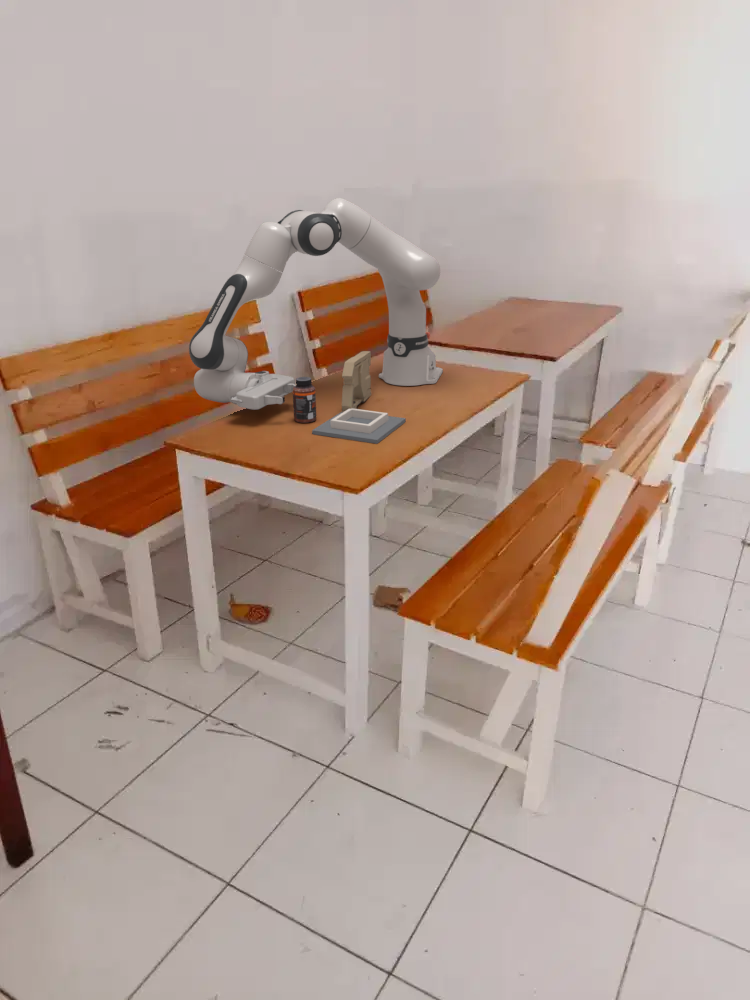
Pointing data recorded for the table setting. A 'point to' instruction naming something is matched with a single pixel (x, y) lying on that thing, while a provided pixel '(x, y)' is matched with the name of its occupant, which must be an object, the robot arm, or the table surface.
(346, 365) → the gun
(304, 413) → the supplement bottle
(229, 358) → the robot arm
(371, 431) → the holder
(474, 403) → the table surface
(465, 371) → the table surface
